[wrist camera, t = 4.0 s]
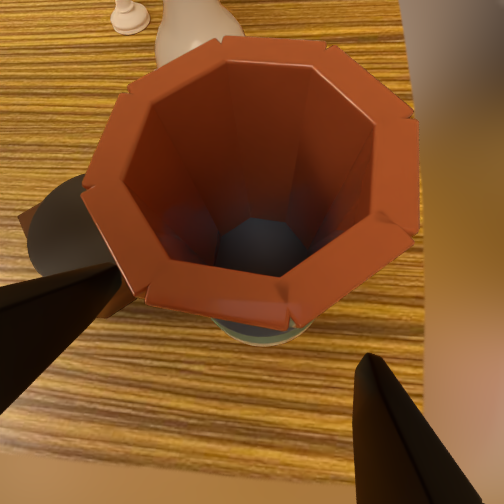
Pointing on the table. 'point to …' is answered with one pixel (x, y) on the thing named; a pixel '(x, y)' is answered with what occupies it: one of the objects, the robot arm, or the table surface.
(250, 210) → the terracotta octagonal pot
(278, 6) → the table surface
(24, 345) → the robot arm
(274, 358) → the table surface
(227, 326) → the disc stack
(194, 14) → the flower vase
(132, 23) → the chess piece
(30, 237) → the coaster stand
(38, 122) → the table surface
